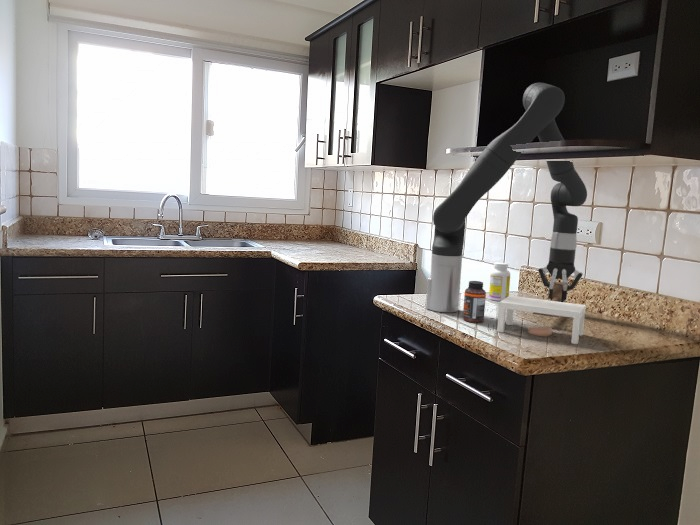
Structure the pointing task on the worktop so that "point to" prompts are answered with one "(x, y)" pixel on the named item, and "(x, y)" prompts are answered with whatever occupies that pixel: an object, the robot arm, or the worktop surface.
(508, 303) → the white shelf
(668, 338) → the worktop surface
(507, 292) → the supplement bottle
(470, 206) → the robot arm
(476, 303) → the supplement bottle
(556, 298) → the walnut push stick
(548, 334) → the terracotta coaster
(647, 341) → the worktop surface
